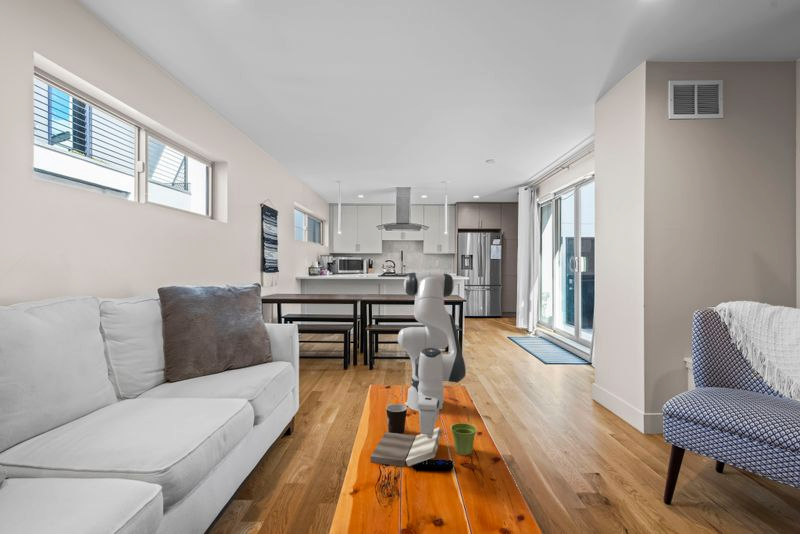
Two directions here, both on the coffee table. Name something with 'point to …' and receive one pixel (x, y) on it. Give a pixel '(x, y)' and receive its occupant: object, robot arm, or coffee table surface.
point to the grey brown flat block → (393, 449)
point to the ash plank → (423, 448)
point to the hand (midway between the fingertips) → (430, 436)
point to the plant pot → (463, 437)
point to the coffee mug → (396, 418)
